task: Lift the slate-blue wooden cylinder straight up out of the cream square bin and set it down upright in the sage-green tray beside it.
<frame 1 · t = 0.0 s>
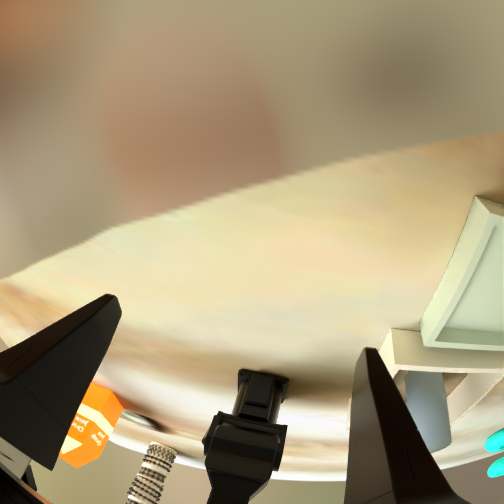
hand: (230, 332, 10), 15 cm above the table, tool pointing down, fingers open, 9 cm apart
donuts: (503, 432, 38), on the table
cylinder: (427, 409, 27), in the cream square bin
tray: (501, 278, 21), on the table
cream square bin: (423, 375, 31), on the table
decorative candle: (163, 447, 73), on the table
orange juice: (105, 394, 58), on the table
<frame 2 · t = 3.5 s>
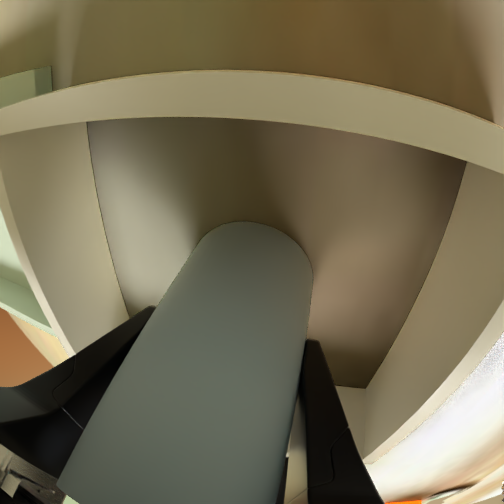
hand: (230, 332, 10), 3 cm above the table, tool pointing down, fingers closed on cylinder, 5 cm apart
cylinder: (213, 379, 8), in the cream square bin, touching gripper
tray: (2, 200, 14), on the table
cream square bin: (251, 276, 12), on the table
when the fingers open (5 cm above the table, at t = 8.4 s): cylinder drops 1 cm, resting on tray.
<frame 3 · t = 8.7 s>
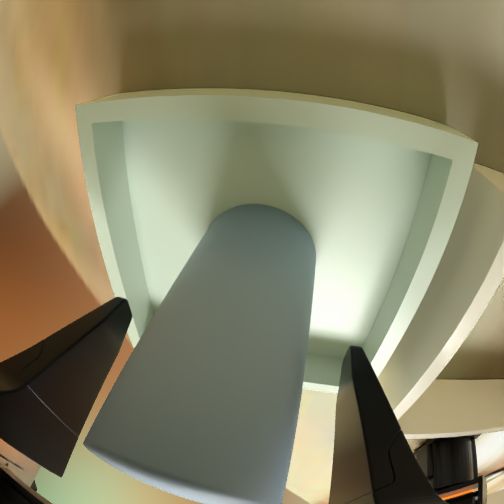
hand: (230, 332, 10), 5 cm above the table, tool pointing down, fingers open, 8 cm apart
cylinder: (228, 343, 9), in the tray, point 6 cm above the table
tray: (262, 243, 14), on the table
orange juice: (450, 489, 40), on the table
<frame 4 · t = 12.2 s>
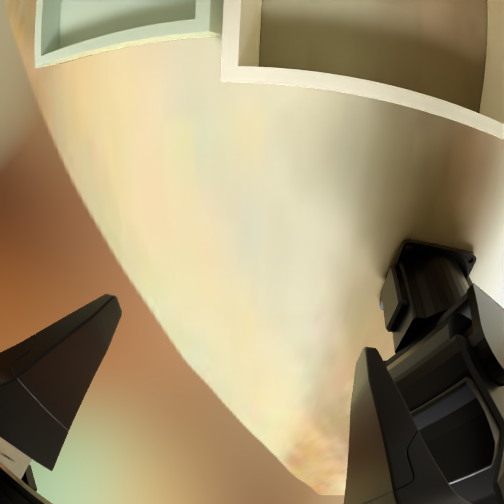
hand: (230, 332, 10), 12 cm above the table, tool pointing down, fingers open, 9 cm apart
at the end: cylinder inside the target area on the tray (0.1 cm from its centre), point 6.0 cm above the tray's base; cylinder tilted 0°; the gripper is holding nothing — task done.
